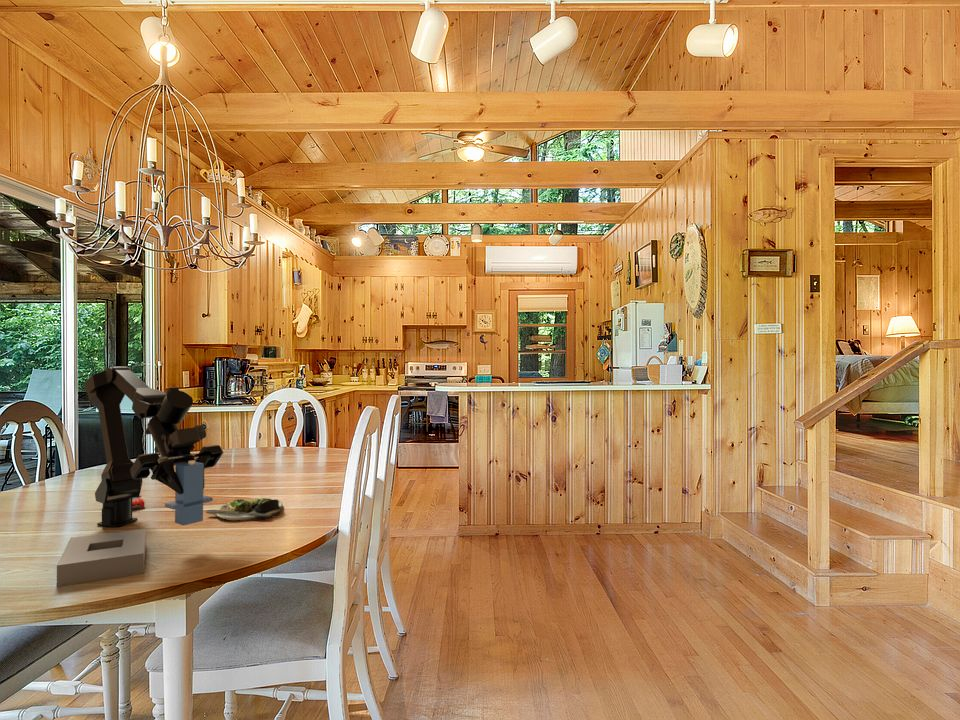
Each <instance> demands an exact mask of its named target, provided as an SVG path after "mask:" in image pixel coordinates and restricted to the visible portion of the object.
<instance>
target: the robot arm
mask: <svg viewBox="0 0 960 720" xmlns="http://www.w3.org/2000/svg"><path fill="white" fill-rule="evenodd" d="M84 390H85V392H86V393H87V397H88V401H89V402H90V403H91V404H92V405H93V406H94V407H95V408H96V409H97V410H98V416H99V422H100V429H101V433H102V441H103V446H104V453H105V461H106V464H105V467H104V469H103V471H102V473H101V475H100V476H101V477H100V478H101V480H100V483H99V485H98V486H97V488H96V490H95V491H94V497H95V501H96V502H98V503H101V504H102V508H101V521H100V522H98V523H96V525H97V526H102V527H116V528H118V527H119V528H120V527H122V526H125V525H127V524H131V523H133V522H135V521H138V519H139V518H138V517H133V510H132V500H133V498H135V497H139V496H141V495H140V494H141V491H142V486H143V479H147V478H149V476H150V474H151V473H152V474H151V476H150V479H151V480H152V481H154V480H155V481H158V482H159V483H161V484H164V485H165V486H166V487H168V488H169V489H171V490H172V491H174V492H175V491H176V492H177V493H179V494H182V493H183V488H182V485H181V483H180V481H179V479H178V477H177V475H176V470H175V467H176V464H182V463H188V461H190V460H195V462H199V463H204V470H205V469H208V468H209V469H210V468H213V467H214V466H216V465H217V463H218V461H219V460H220V459H221V457H222V456H223V454H224V451H223V448H222V447H221V446H220V445H218V444H214V445H212V444H211V445H206V446H202V448H201V449H200V451H199V452H198V453H191V451H194V449H195V447H196V446H195V445H196V443H200V442H201V441H202V440H204V439H205V438H207V431H206V429H205V427H204V426H203V424H197V425H194V427H187V428H179V426H178V424H181V423H182V422H183V420H184V419H185V417H186V416H187V414H188V412H189V411H190V409H191V407H192V406H193V403H194V398H193V397H192V395H191V396H190V394H188V393H187V392H185V391H183V390H180V388H179V386H178V387H177V386H176V387H175V386H174V387H168V389H167V391H166V392H164V391H162V390H159V389H155V388H151V387H149V385H148V384H146V383H145V382H144V380H142V379H141V378H140V377H139V376H137V374H135V373H134V371H133V368H132V367H128V366H111V367H108V368H106V369H105V370H103V371H100V372H97V373H94V374H92V375H91V376H90V377H88V379H86V380H85V382H84ZM125 396H126V397H127V398H128V399H129V400H130V401H131V403H132V406H131V410H132V411H133V413H134V414H135V415H136V417H137V418H139V419H149V421H148V423H147V427H146V428H145V435H151V438H152V440H153V442H154V445H155V447H154V448H153V451H154V452H150V453H144V454H139V455H137V457H136V458H135V460H134V461H132V460H131V459H130V457H129V452H128V445H127V440H126V434H125V428H124V422H123V417H122V412H121V411H122V410H121V403H122V401H123V399H124V397H125ZM150 470H151V471H150ZM204 489H205V476H204V477H203V490H204Z"/></svg>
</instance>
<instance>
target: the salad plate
mask: <svg viewBox="0 0 960 720" xmlns="http://www.w3.org/2000/svg"><path fill="white" fill-rule="evenodd" d="M282 509H283V502H282V501H281V500H279V499H272V498H270V497H269V498H267V497H266V498H265V497H260V498H255V499H253V500H250V501H248V500H246V499H243V498H241V499H236V498H235V499H233V500H232V501H231V502H228V503H227V502H226V503H225V504H222V505H221V506H220V507H219V509H208V510H206V511H205V513H206V514H208V515H213V516H216V517H217V518H221V519H223V520H225V519H226V521H231V522H232V521H233V522H234V521H235V522H236V521H237V520H240V521H252V520H251V519H258V520H264V519H263V518H267V519H270V518H269V517H271V518H274V517H273V516H275V517H277V516H279V515H280V514H281V513H280V512H283V511H282ZM278 514H279V515H278ZM276 515H277V516H276ZM237 522H238V521H237Z"/></svg>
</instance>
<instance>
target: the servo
mask: <svg viewBox="0 0 960 720" xmlns="http://www.w3.org/2000/svg"><path fill="white" fill-rule="evenodd" d="M175 473H176V475H177V477H178V479H179V481H180V483H181V485H182V488H183V493H182V494H179V493H177V492H176V491H174V494H175V495H174V498H175V499H174V501H170V502H165V503H164V507H165V508H168V509H171V510H174V523H175V524H178V525H181V526H182V527H183V526H187V525H191V524H196V523H201V522H203V521H204V504H206V503H210V502H213V497H211V496H208V495H205V494H204V489H203V477H204V478H205V469H204V463H199V462H195V460H190V461H188V463H182V464H176V466H175Z"/></svg>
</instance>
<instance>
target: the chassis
mask: <svg viewBox="0 0 960 720" xmlns="http://www.w3.org/2000/svg"><path fill="white" fill-rule="evenodd" d="M65 546H66V547H65V548H64V550H63V552H62V555H61V556H60V558H59V560H58V562H57V565H56V587H62V586H69V585H75V584H83V583H88V582H95V581H101V580H108V579H115V578H121V577H126V576H134V575H141V574H144V571H145V560H146V549H147V528H139V529H132V530H131V529H130V530H124V531H122V530H121V531H115V532H114V531H113V532H105V533H100V534H89V535H83V536H82V535H81V536H73V537H70V538H69V540H68V542H67V545H65Z"/></svg>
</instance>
